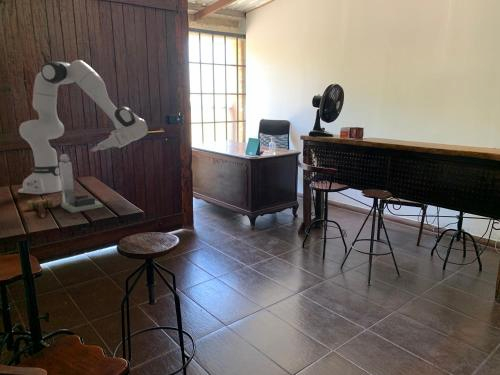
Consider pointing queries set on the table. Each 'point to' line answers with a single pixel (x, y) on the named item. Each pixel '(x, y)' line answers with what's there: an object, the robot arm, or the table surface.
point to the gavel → (40, 206)
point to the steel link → (66, 176)
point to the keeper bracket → (80, 203)
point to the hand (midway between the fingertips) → (92, 150)
